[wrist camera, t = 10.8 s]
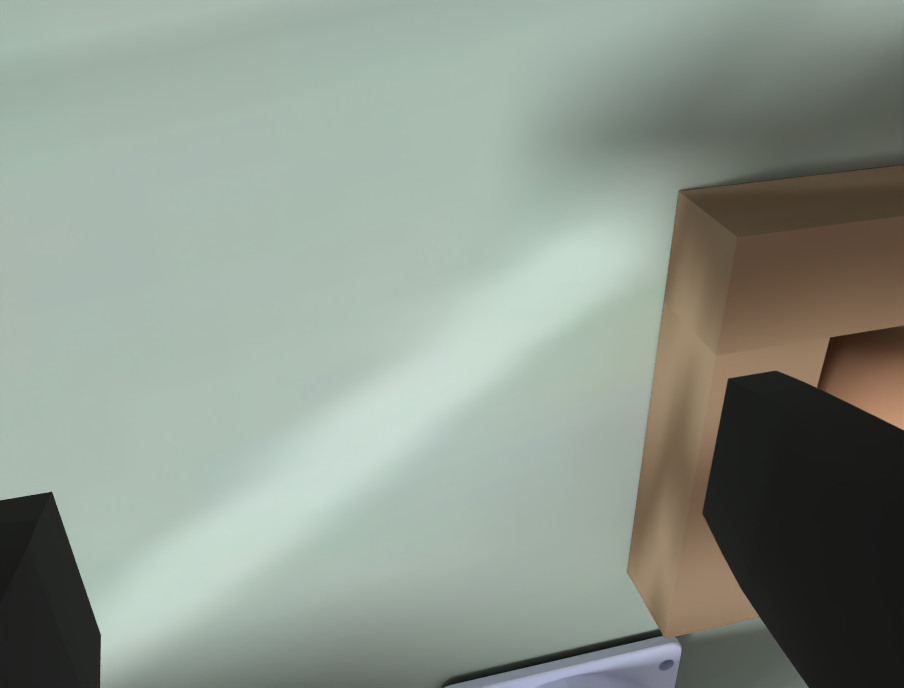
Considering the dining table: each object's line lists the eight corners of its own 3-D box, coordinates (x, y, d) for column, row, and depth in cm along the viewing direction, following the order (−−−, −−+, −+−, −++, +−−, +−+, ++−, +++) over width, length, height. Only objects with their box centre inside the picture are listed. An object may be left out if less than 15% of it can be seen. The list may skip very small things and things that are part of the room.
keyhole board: (969, 499, 28) (1030, 554, 26) (626, 572, 26) (665, 639, 24) (1115, 140, 22) (1211, 175, 20) (679, 191, 19) (737, 237, 17)
